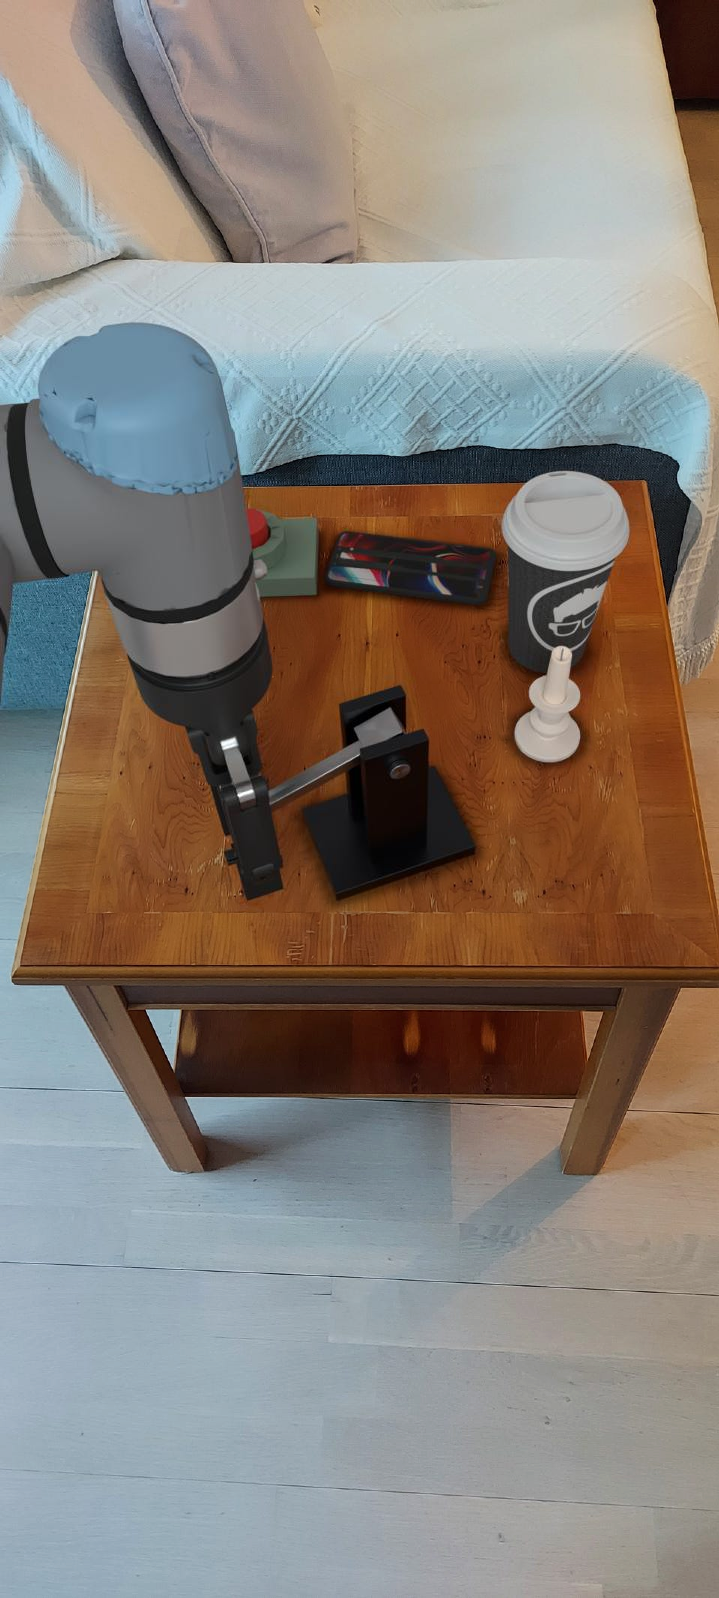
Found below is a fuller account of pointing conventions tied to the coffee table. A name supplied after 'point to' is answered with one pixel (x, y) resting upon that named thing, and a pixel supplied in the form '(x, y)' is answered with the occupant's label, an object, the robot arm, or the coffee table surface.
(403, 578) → the smartphone
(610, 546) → the coffee cup
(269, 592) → the button box
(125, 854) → the coffee table surface
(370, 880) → the bracket
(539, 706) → the candle
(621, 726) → the coffee table surface
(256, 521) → the button
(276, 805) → the lever
